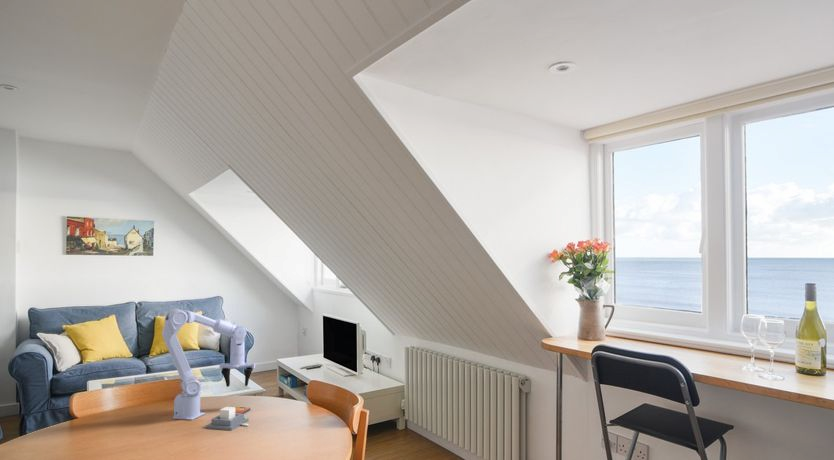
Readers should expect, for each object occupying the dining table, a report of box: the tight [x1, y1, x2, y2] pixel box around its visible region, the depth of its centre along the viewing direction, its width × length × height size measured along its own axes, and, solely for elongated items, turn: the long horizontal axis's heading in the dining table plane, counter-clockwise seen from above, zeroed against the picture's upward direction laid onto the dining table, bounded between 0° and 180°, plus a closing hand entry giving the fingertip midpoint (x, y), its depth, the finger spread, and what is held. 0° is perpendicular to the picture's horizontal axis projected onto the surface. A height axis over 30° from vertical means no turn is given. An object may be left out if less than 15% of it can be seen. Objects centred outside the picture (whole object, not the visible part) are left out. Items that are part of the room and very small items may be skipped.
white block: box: [219, 406, 235, 419], centre depth 190 cm, size 4×4×5 cm
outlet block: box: [205, 413, 250, 431], centre depth 190 cm, size 14×11×3 cm
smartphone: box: [235, 406, 251, 415], centre depth 202 cm, size 7×15×1 cm, turn 168°
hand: (237, 385), depth 211 cm, fingers open, 7 cm apart
